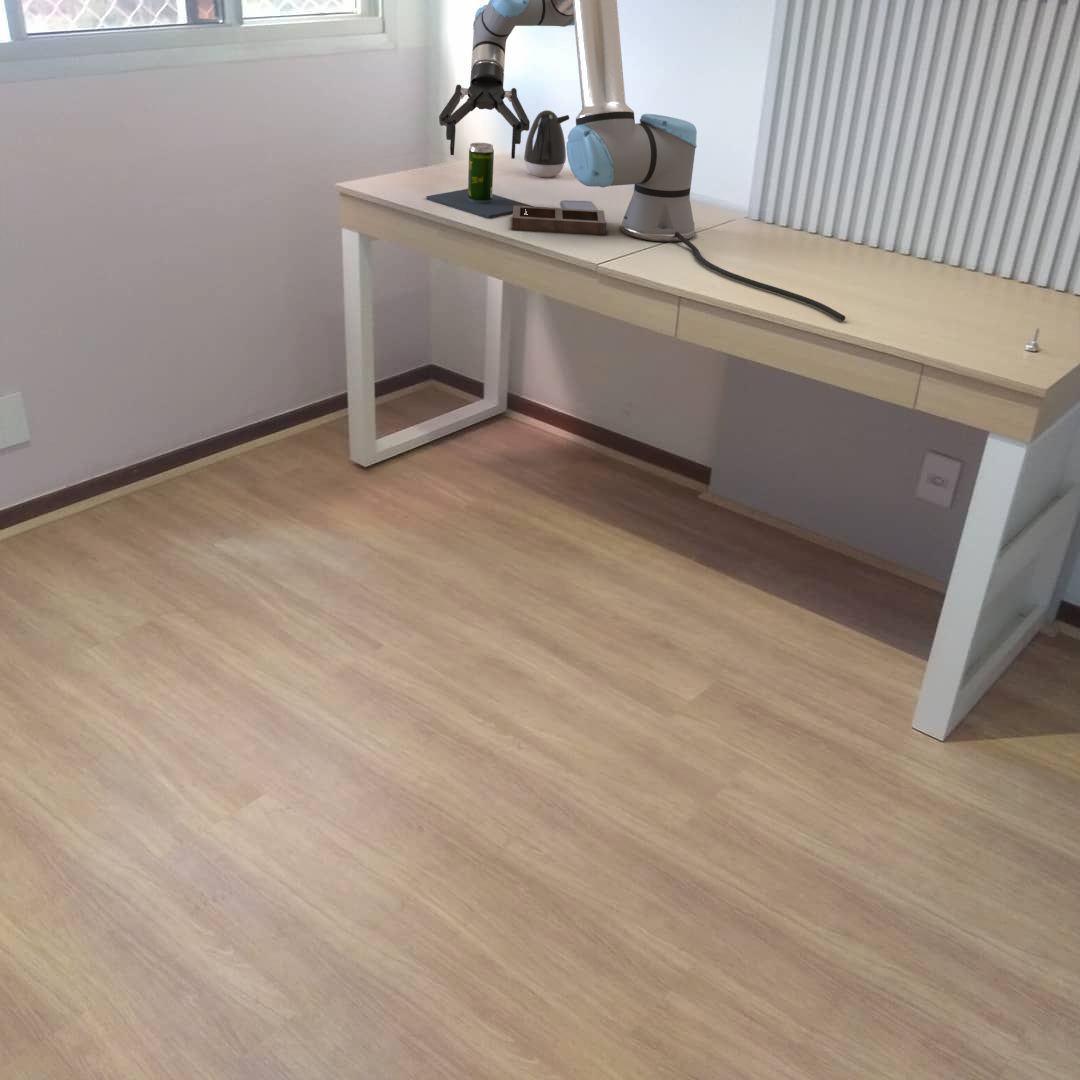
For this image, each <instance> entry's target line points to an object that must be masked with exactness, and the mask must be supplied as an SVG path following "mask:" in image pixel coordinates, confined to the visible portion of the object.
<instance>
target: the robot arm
mask: <svg viewBox="0 0 1080 1080" xmlns="http://www.w3.org/2000/svg"><path fill="white" fill-rule="evenodd" d="M619 21H620V20H619V10H618V0H489V1H488V3H487V4H484V5H483V6H482V7H478V9H477V10H476V12H475V15H474V20H473V25H472V26H473V27H472V28H473V32H472V33H473V37H472V53H471V65H470V69H471V70H470V81H469V87H468V88H466V87H462V85H461V84H457V85H456V86H455V90H454V93H453V95H452V96H451V97H450V99H449V101H448V102H447V103H446V105H445V106H444V108H443V110H442V111H441V113H439V116H438V121H439V123H438V124H439V125H440V126H441V127H443V126H445V128H446V131H445V139H446V140H447V141H450V142H449V143H450V144H449V151H450V153H449V155H450V156H454V155H455V145H456V129H457V128H456V126H457V124H458V123H459V122H460V121H462V119H464V118H465V117H466V116H467V115H469V113H470V112H473V111H474V110H476V108H477V109H478V110H488V111H493V109H495V110H496V111H497V113H499V114H500V115H501V116H502V117H503V118H504V120H505V121H506V122H507V123H508V124H509V125H510V126H511V127H512V133H511V138H512V139H511V154H510V155H511V157H510V158H511V160H515V158H516V145H520V144H521V142H522V132H523V131H525V132H529V131H530V122H531V121H530V118H528V115H527V114H526V112H525V109H524V107H523V106H522V103H521V102H520V100H519V97H518V91H517V88H515V87H512V88H511V89H510V90H505V88H504V80H505V73H504V72H505V65H506V64H505V63H506V45H507V40H508V38H509V36H510V35H511V34H512V32H513V30H514V29H515V27H562V28H566V27H568V26H574V33H575V34H574V35H575V44H576V45H575V46H576V56H577V67H578V75H579V85H580V86H579V89H580V98H581V110H580V111H579V113H578V114H577V115H576V117H575V126H573V127H572V128H571V129H570V130H569V133H568V135H567V141H566V145H565V148H566V159H567V162H568V166H569V168H570V170H571V172H572V174H573V177H575V178H576V179H577V181H578V182H579V183H580V184H582V185H583V186H586V187H591V188H592V187H595V188H596V187H599V188H607V187H614V186H627V185H628V186H629V185H633V186H634V187H633V193H632V196H631V198H630V200H629V203H628V206H627V207H626V211H625V213H624V216H623V218H622V220H621V231H622V232H623V233H624V234H626V235H627V236H630V237H633V238H636V239H639V240H645V241H651V242H664V243H666V242H667V243H668V242H669V243H670V242H671V243H673V242H682V243H683V244H684V245H685V246H687V248H689V249H690V250H691V251H692V252H693V253H694V256H695V258H696V259H697V261H699V262H700V264H702V265H704V266H705V267H707V268H708V269H710V270H712V271H714V272H716V273H718V274H720V275H722V276H725V277H726V278H730V279H732V280H735V281H738V282H741V283H744V284H746V285H749V286H753V287H755V288H758V289H760V290H761V289H762V290H764V291H765V290H766V291H768V292H771V293H774V294H778V295H780V296H781V295H782V296H784V297H787V298H790V299H793V300H796V301H798V302H802V303H804V304H807V305H810V306H812V307H815V308H817V309H819V310H821V311H823V312H825V313H827V314H828V315H831V316H832V317H834V318H836V319H838V320H839V321H841V322H844V321H845V320H846V315H844V314H843V313H841V312H839V311H836V310H835V309H833V308H831V307H830V306H828V305H825V304H824V303H822V302H819V301H817V300H815V299H813V298H809V297H806V296H803V295H800V294H798V293H795V292H791V291H788V290H786V289H784V288H780V287H776V286H773V285H769V284H766V283H763V282H760V281H757V280H753V279H751V278H748V277H745V276H742V275H739V274H736V273H734V272H731V271H728V270H726V269H724V268H721V267H720V266H718V265H715V264H714V263H712V262H710V261H708V260H707V259H706V258H705V257H703V256H702V254H701V252H700V251H699V249H698V247H697V246H695V244H694V243H692V242H691V241H690V239H692V238H693V237H694V236H695V229H696V227H695V221H694V215H693V208H692V203H691V199H690V197H691V189H692V180H693V170H694V164H695V163H694V162H695V153H696V149H697V127H696V126H695V125H694V124H693V123H691V122H690V121H688V120H685V119H681V118H677V117H676V118H675V117H671V116H666V115H661V114H656V113H643V114H642V115H641V116H640V119H639V123H636V119H635V111H634V110H633V109H632V108H631V107H630V106H629V105H628V104H627V103H626V92H625V81H624V80H625V79H624V70H623V69H624V68H623V57H622V45H621V33H620V23H619ZM465 96H467V97H468V98H467V99H466V101H465V102H464V103H463V104H462V105H460V106H459V107H458V108H457V106H458V105H459V104H460V102H461V100H463V99H464V97H465ZM505 98H506V99H507V100H508V102H510V103H511V106H512V108H513V110H514V112H515V114H516V115H515V114H514V113H513V112H512V110H511V109H510V108H509V107H508V106H507V105H506V104H505V101H504V99H505ZM456 108H457V109H456Z"/></svg>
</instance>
